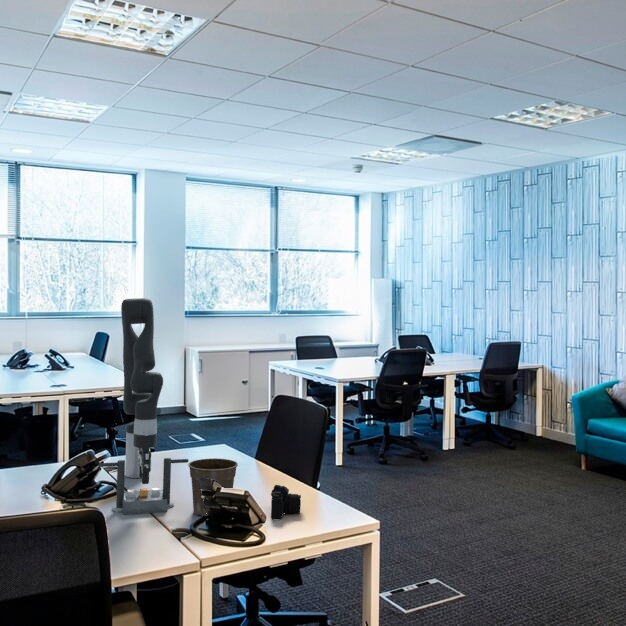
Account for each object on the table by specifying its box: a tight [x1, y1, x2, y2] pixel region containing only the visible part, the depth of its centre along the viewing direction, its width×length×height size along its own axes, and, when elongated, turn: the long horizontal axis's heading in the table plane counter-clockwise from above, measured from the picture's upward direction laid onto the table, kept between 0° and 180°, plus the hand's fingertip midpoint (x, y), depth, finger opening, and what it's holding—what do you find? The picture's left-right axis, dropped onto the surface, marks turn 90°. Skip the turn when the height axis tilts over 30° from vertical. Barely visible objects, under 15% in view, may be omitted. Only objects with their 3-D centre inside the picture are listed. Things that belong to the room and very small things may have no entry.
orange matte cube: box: [139, 487, 148, 497], centre depth 223 cm, size 2×2×2 cm
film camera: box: [270, 484, 302, 520], centre depth 223 cm, size 15×10×9 cm, turn 178°
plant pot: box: [187, 457, 239, 517], centre depth 221 cm, size 16×16×16 cm
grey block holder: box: [122, 487, 168, 516], centre depth 223 cm, size 12×14×6 cm
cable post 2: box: [162, 457, 189, 509], centre depth 227 cm, size 5×10×16 cm, turn 110°
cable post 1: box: [98, 459, 126, 513], centre depth 220 cm, size 5×10×16 cm, turn 110°
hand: (143, 480), depth 223 cm, fingers open, 8 cm apart
